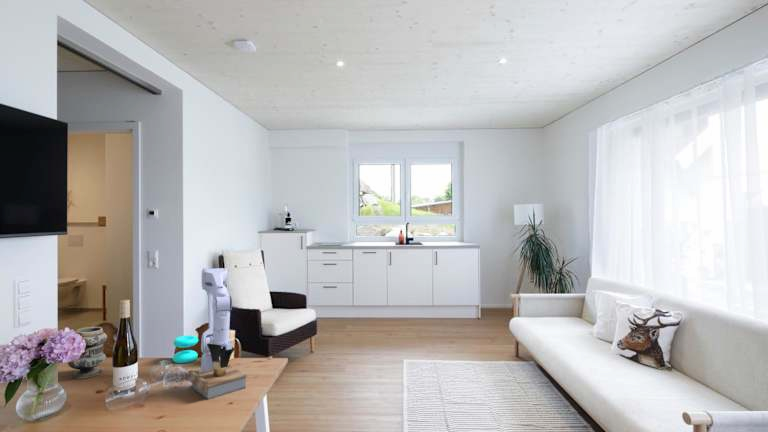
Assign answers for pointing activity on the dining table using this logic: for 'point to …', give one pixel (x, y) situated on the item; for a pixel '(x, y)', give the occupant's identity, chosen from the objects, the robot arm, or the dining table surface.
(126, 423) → the dining table surface
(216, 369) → the cylinder
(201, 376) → the box lid
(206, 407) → the dining table surface
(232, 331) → the supplement box
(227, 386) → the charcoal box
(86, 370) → the apothecary jar
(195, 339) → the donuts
